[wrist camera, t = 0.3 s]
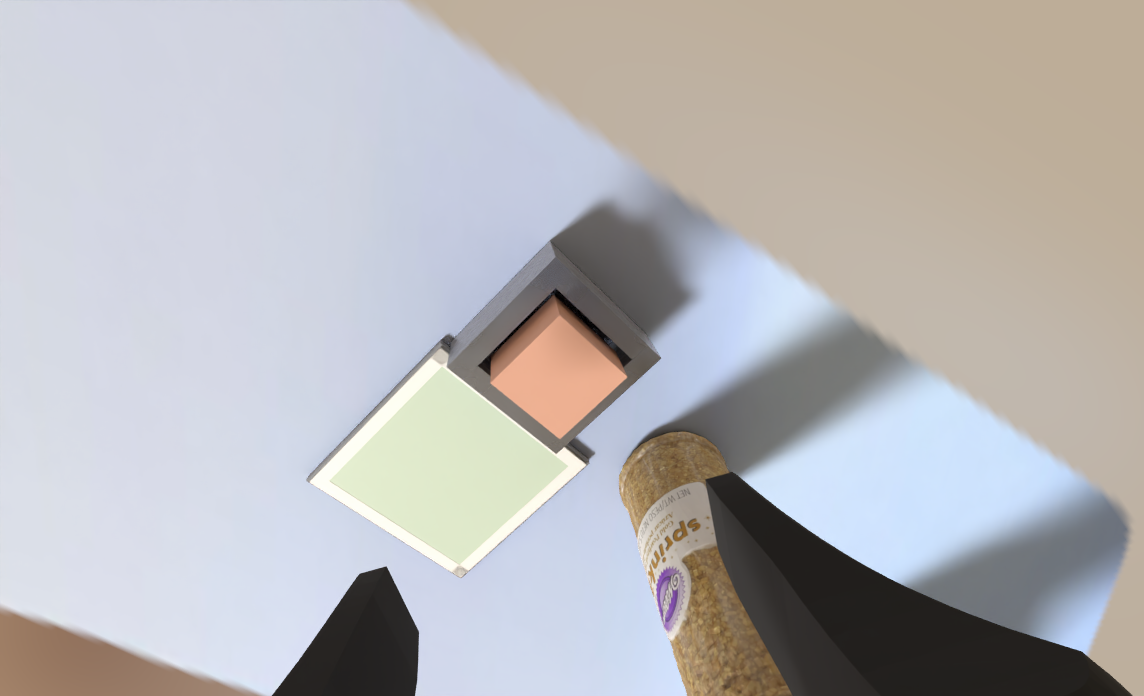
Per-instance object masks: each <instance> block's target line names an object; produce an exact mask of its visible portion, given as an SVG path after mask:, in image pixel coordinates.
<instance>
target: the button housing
mask: <svg viewBox="0 0 1144 696" xmlns="http://www.w3.org/2000/svg"><path fill="white" fill-rule="evenodd" d="M555 288H556V289H557V290H558V291H559V292H560V293H561V294H562V295H564V296H565V297H566V298H567V299H568V300H569V301H570V302H571V303H572V304H573V305H574V306H575V307H576V308H578V309H579V310H580V311H581V312H582V313H583V314H584V315H585V316H586V317H587V318H588V319H589V320H590V321H591V322H593V323H594V324H595V325H596V326H597V327H598V328H599V329H600V330H601V331H602V332H603V333H604V334H605V335H606V336H608V337H609V338H610V339H611V340H612V341H613V342H612V343H611V344H610V345H609V346H610V347H611V348H612V349H613V350H615V351H616V353H617V355H618V357H619V360H620V362H621V364H622V366H623V368H624V370H625V373H626V375H627V378H626V379H625V380H624V381H623V382H622V383H621V384H620V385H618V386H617V387H616V388H615V389H614V390H613V391H612V392H611V393H610V394H609V395H608V396H606V397H605V398H604V399H603V400H602V401H601V402H600V403H599V404H598V405H597V406H596V407H595V408H593V409H592V410H591V411H590V412H589V413H588V414H587V415H586V416H585V417H584V418H583V419H581V420H580V421H579V422H578V423H577V424H576V425H575V426H574V427H573V428H572V429H571V430H570V431H568V432H567V433H566V434H565V435H564V436H563V437H562V438H561V439H559V438H558V437H556V436H555V435H554V434H553V433H551V432H550V431H549V430H548V429H547V428H545V427H544V426H543V425H542V424H540V423H539V422H538V421H537V420H535V419H534V418H533V417H532V416H530V415H529V414H528V413H527V412H525V411H524V410H523V409H522V408H520V407H519V406H518V405H517V404H515V403H514V402H513V401H512V400H511V399H509V398H508V397H507V396H506V395H504V394H503V393H502V392H501V391H499V390H498V389H497V388H496V387H494V386H493V385H492V384H491V383H490V379H491V356H492V355H493V354H494V352H493V350H494V349H495V348H496V347H497V346H498V345H499V344H500V343H501V342H502V341H503V340H504V339H505V338H506V337H507V336H508V335H509V334H510V333H511V332H512V331H513V330H514V329H515V328H516V327H517V326H518V325H519V324H520V323H521V322H522V321H523V320H524V319H525V318H526V317H527V316H528V315H529V314H530V313H531V312H532V311H533V310H534V309H535V308H536V307H537V306H538V305H539V304H540V303H541V302H542V301H543V300H544V299H545V298H546V297H547V296H548V295H549V294H550V293H551V292H552V291H553V290H554V289H555ZM660 359H661V357H660V355H659V354H658V352H657V351H656V349H655V347H654V346H653V344H652V343H651V341H650V339H649V338H648V336H647V335H646V333H644V332H643V331H642V330H641V329H640V328H639V327H638V326H637V325H636V324H635V323H634V322H633V321H632V320H631V319H630V318H629V317H628V316H627V315H626V314H625V313H624V312H623V311H622V310H621V309H620V308H619V307H618V306H617V305H616V304H615V303H613V302H612V301H611V300H610V299H609V298H608V297H607V296H606V295H605V294H604V293H603V292H602V291H601V290H600V289H599V288H598V287H597V286H596V285H595V284H594V283H593V282H592V281H591V280H590V279H589V278H588V277H587V276H586V275H585V274H583V273H582V272H581V271H580V270H579V269H578V268H577V267H576V266H575V265H574V264H573V263H572V262H571V261H570V260H569V259H568V258H567V257H566V256H565V255H564V254H563V253H562V252H561V251H560V250H559V249H558V248H557V247H556V246H555V245H553V244H552V243H551V242H550V241H549V242H548V243H547V244H546V245H545V246H544V247H543V248H542V249H541V250H540V251H539V252H538V253H537V254H536V255H535V256H534V257H533V258H532V259H531V260H530V262H529V263H528V264H527V265H526V266H525V267H524V268H523V269H522V270H521V271H520V272H519V273H518V274H517V275H516V276H515V277H514V278H513V279H512V280H511V281H510V282H509V283H508V284H507V285H506V286H505V287H504V288H503V289H502V290H501V291H500V292H499V293H498V294H497V295H496V296H495V297H494V298H493V299H492V300H491V301H490V302H489V303H488V304H487V305H486V306H485V307H484V308H483V310H482V311H481V312H480V313H479V314H478V315H477V316H476V317H475V318H474V319H473V320H472V321H471V322H470V323H469V324H468V325H467V326H466V327H465V328H464V329H463V330H462V331H461V332H460V333H459V334H458V335H457V336H456V337H455V338H454V339H453V340H452V341H451V346H450V351H449V356H448V362H447V368H448V369H449V370H451V371H452V372H453V373H454V374H456V375H457V376H458V377H459V378H461V379H462V380H463V381H464V382H466V383H467V384H468V385H469V386H471V387H472V388H473V389H475V390H476V391H477V392H478V393H480V394H481V395H482V396H483V397H485V398H486V399H487V400H488V401H490V402H491V403H492V404H494V405H495V406H496V407H497V408H499V409H500V410H501V411H502V412H504V413H505V414H506V415H507V416H509V417H510V418H511V419H512V420H514V421H515V422H516V423H518V424H519V425H520V426H521V427H523V428H524V429H525V430H526V431H528V432H529V433H530V434H531V435H533V436H534V437H535V438H537V439H538V440H539V441H540V442H542V443H543V444H544V445H545V446H547V447H548V448H549V449H550V450H552V451H553V452H554V453H555V454H557V453H558V452H559V451H560V450H562V449H563V448H564V447H565V446H566V445H567V444H568V443H569V442H570V441H571V440H572V439H574V438H575V437H576V436H577V435H578V434H579V433H580V432H581V431H582V430H583V429H585V428H586V427H587V426H588V425H589V424H590V423H591V422H592V421H593V420H594V419H595V418H597V417H598V416H599V415H600V414H601V413H602V412H603V411H604V410H605V409H606V408H607V407H609V406H610V405H611V404H612V403H613V402H614V401H615V400H616V399H617V398H618V397H620V396H621V395H622V394H623V393H624V392H625V391H626V390H627V389H628V388H629V387H630V386H632V385H633V384H634V383H635V382H636V381H637V380H638V379H639V378H640V377H641V376H642V375H644V374H645V373H646V372H647V371H648V370H649V369H650V368H651V367H652V366H653V365H654V364H656V363H657V362H658V361H659V360H660Z"/></svg>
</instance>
